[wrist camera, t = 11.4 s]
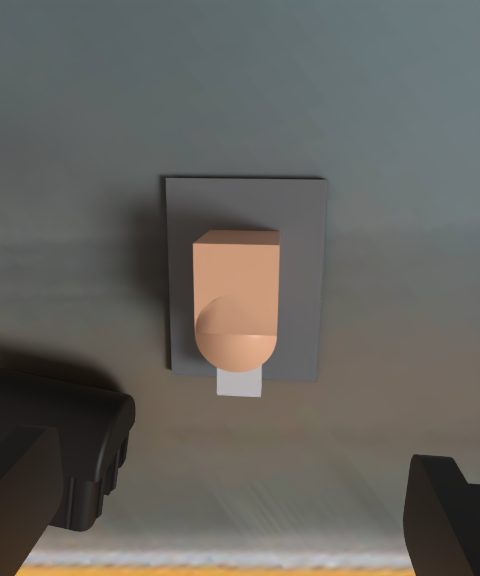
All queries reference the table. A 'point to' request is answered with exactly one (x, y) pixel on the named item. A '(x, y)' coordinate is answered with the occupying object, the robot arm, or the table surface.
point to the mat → (292, 263)
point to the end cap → (73, 436)
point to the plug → (236, 305)
